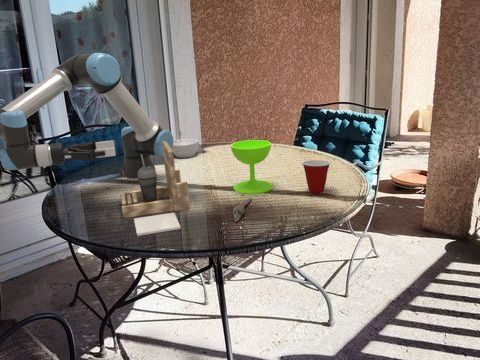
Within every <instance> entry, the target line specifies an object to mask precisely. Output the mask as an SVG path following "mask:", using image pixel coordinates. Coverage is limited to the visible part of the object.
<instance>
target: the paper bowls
mask: <svg viewBox="0 0 480 360" xmlns="http://www.w3.org/2000/svg"><path fill="white" fill-rule="evenodd" d="M173 140H174V141H173V147H172V151H173V155H175V157H176V158H180V159H181V158H182V159H184V158H186V159H187V158H191V157H194V156H195V155H196V153H197V152H198V151H199V150H200V145H199V140H198V139H195V138H180V139H176V140H175V139H173Z"/></svg>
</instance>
